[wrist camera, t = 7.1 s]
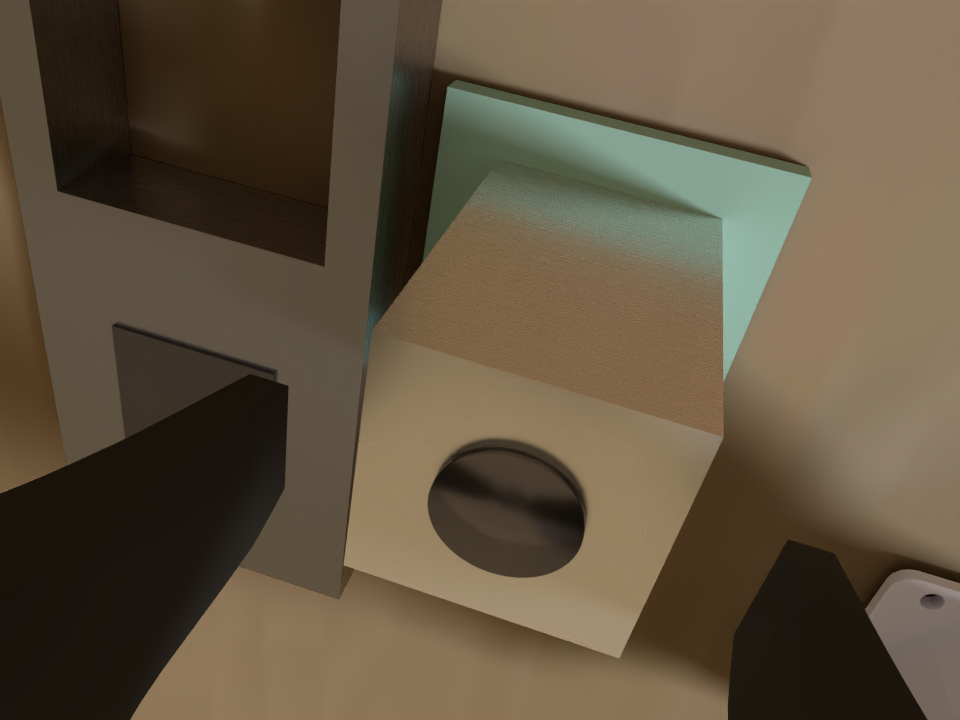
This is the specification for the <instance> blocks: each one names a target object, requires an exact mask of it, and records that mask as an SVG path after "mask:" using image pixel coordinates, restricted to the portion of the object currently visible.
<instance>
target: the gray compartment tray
mask: <svg viewBox="0 0 960 720" xmlns="http://www.w3.org/2000/svg"><path fill="white" fill-rule="evenodd" d="M441 3H442V0H341V10H340V26H339V42H338V58H337V75H336V91H335V107H334V123H333V139H332V155H331V171H330V187H329V203H328V209H327V208H324V207H320V206H317V205H313V204H309V203H306V202H302V201H298V200H295V199H291V198H287V197H284V196H280V195H276V194H273V193H269V192H265V191H262V190H258V189H254V188H251V187H247V186H243V185H240V184H236V183H233V182H229V181H225V180H222V179H218V178H214V177H211V176H207V175H203V174H200V173H196V172H192V171H189V170H185V169H181V168H178V167H174V166H170V165H167V164H163V163H159V162H156V161H152V160H149V159H145V158H141V157H138V156H134V155H131V151H130V140H129V129H128V117H127V106H126V95H125V84H124V73H123V61H122V50H121V39H120V28H119V17H118V6H117V0H0V98H1V103H2V109H3V115H4V120H5V126H6V131H7V137H8V142H9V148H10V154H11V159H12V165H13V170H14V176H15V181H16V187H17V192H18V198H19V204H20V209H21V215H22V220H23V226H24V231H25V237H26V242H27V248H28V254H29V259H30V265H31V270H32V276H33V281H34V287H35V292H36V298H37V304H38V309H39V315H40V320H41V326H42V331H43V337H44V342H45V348H46V354H47V359H48V365H49V370H50V376H51V381H52V387H53V392H54V398H55V404H56V409H57V415H58V420H59V426H60V431H61V437H62V442H63V448H64V454H65V459H66V465H69V464H71V463H74V462H76V461H78V460H80V459H82V458H85V457H87V456H89V455H91V454H93V453H96V452H98V451H100V450H102V449H104V448H106V447H109V446H111V445H113V444H115V443H117V442H119V441H121V440H123V439H125V438H127V437H129V436H131V435H133V434H135V433H137V432H139V431H141V430H143V429H145V428H147V427H149V426H151V425H153V424H155V423H157V422H159V421H161V420H163V419H165V418H167V417H169V416H171V415H172V414H174V413H176V412H178V411H180V410H182V409H184V408H186V407H188V406H190V405H191V404H193V403H195V402H197V401H199V400H201V399H203V398H205V397H207V396H208V395H210V394H212V393H214V392H216V391H218V390H220V389H222V388H223V387H225V386H227V385H229V384H231V383H233V382H235V381H237V380H239V379H241V378H243V377H245V376H247V375H249V374H252V375H255V376H259V377H262V378H265V379H268V380H272V381H275V382H278V383H281V384H285V385H288V386H289V391H288V417H287V443H286V470H285V489H284V491H283V492H282V494H281V496H280V498H279V500H278V502H277V504H276V506H275V507H274V509H273V511H272V513H271V515H270V517H269V519H268V520H267V522H266V524H265V526H264V527H263V529H262V531H261V533H260V534H259V536H258V538H257V540H256V541H255V543H254V545H253V547H252V548H251V549H250V551H249V552H248V554H247V555H246V556H245V558H244V559H243V561H242V562H241V563H240V565H239V566H240V567H243V568H246V569H249V570H252V571H255V572H258V573H261V574H264V575H267V576H270V577H273V578H276V579H279V580H282V581H285V582H288V583H291V584H294V585H297V586H300V587H303V588H306V589H309V590H312V591H315V592H318V593H321V594H324V595H327V596H330V597H333V598H336V599H339V598H340V596H341V594H342V592H343V591H344V589H345V587H346V585H347V583H348V581H349V579H350V577H351V575H352V573H353V571H354V569H353V568H350V567H347V566H344V558H345V550H346V541H347V533H348V525H349V517H350V508H351V500H352V492H353V483H354V475H355V467H356V459H357V450H358V442H359V434H360V426H361V417H362V409H363V401H364V392H365V384H366V376H367V368H368V359H369V351H370V343H371V335H372V330H373V329H374V328H375V326H376V325H377V324H378V322H379V321H380V319H381V318H382V317H383V315H384V314H385V313H386V311H387V310H388V309H389V307H390V306H391V305H392V303H393V302H394V301H395V299H396V298H397V296H398V295H399V294H400V292H401V291H402V290H403V288H404V287H405V280H406V272H407V264H408V257H409V249H410V241H411V234H412V226H413V218H414V210H415V203H416V195H417V187H418V180H419V172H420V164H421V157H422V149H423V141H424V134H425V126H426V118H427V111H428V103H429V95H430V88H431V80H432V72H433V64H434V57H435V49H436V41H437V34H438V26H439V18H440V11H441Z"/></svg>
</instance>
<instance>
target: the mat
mask: <svg viewBox="0 0 960 720" xmlns="http://www.w3.org/2000/svg"><path fill="white" fill-rule="evenodd" d="M499 159H503V160H507V161H510V162H514V163H518V164H521V165H525V166H529V167H533V168H536V169H540V170H544V171H547V172H551V173H555V174H558V175H562V176H566V177H569V178H573V179H577V180H580V181H584V182H588V183H591V184H595V185H599V186H602V187H606V188H610V189H614V190H617V191H621V192H625V193H628V194H632V195H636V196H639V197H643V198H647V199H650V200H654V201H658V202H661V203H665V204H669V205H672V206H676V207H680V208H684V209H687V210H691V211H695V212H698V213H702V214H706V215H709V216H713V217H717V218H720V219H722V228H723V382H724V380H725V378H726V375H727V373H728V371H729V368H730V366H731V364H732V361H733V359H734V357H735V355H736V352H737V350H738V348H739V345H740V343H741V341H742V338H743V336H744V334H745V331H746V329H747V327H748V324H749V322H750V320H751V317H752V315H753V313H754V311H755V308H756V306H757V304H758V301H759V299H760V297H761V294H762V292H763V290H764V287H765V285H766V283H767V280H768V278H769V276H770V274H771V271H772V269H773V267H774V264H775V262H776V260H777V257H778V255H779V253H780V250H781V248H782V246H783V243H784V241H785V239H786V236H787V234H788V232H789V230H790V227H791V225H792V223H793V220H794V218H795V216H796V213H797V211H798V209H799V206H800V204H801V202H802V199H803V197H804V195H805V192H806V190H807V188H808V186H809V183H810V181H811V179H812V177H811V173H810V170H809V167H806V166H802V165H798V164H794V163H790V162H786V161H782V160H778V159H774V158H770V157H766V156H761V155H757V154H753V153H749V152H745V151H741V150H737V149H733V148H729V147H725V146H721V145H717V144H713V143H709V142H705V141H701V140H697V139H693V138H689V137H685V136H681V135H677V134H673V133H669V132H665V131H661V130H657V129H653V128H649V127H645V126H641V125H637V124H633V123H629V122H625V121H621V120H617V119H613V118H609V117H604V116H600V115H596V114H592V113H588V112H584V111H580V110H576V109H572V108H568V107H564V106H560V105H556V104H552V103H548V102H544V101H540V100H536V99H532V98H528V97H524V96H520V95H516V94H512V93H508V92H504V91H500V90H496V89H492V88H488V87H484V86H480V85H476V84H472V83H468V82H464V81H460V80H455V81H454V82H453V83H451V84H450V85H449V86H448V87H447V94H446V101H445V108H444V115H443V122H442V129H441V136H440V143H439V150H438V157H437V164H436V171H435V178H434V185H433V192H432V199H431V206H430V213H429V221H428V228H427V235H426V242H425V249H424V256H423V261H424V260H425V259H426V257H427V256H428V255H429V253H430V252H431V251H432V249H433V248H434V246H435V245H436V244H437V242H438V241H439V240H440V238H441V237H442V236H443V234H444V233H445V232H446V230H447V229H448V228H449V226H450V225H451V223H452V222H453V221H454V219H455V218H456V217H457V215H458V214H459V213H460V211H461V210H462V209H463V207H464V206H465V205H466V203H467V202H468V200H469V199H470V198H471V196H472V195H473V194H474V192H475V191H476V190H477V188H478V187H479V186H480V184H481V183H482V182H483V180H484V179H485V177H486V176H487V175H488V173H489V172H490V171H491V169H492V168H493V167H494V165H495V164H496V163H497V161H498V160H499Z"/></svg>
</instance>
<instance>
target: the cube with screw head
mask: <svg viewBox="0 0 960 720" xmlns="http://www.w3.org/2000/svg"><path fill="white" fill-rule="evenodd" d="M723 438H724V389H723V228H722V219H720V218H717V217H713V216H709V215H706V214H702V213H698V212H695V211H691V210H687V209H684V208H680V207H676V206H672V205H669V204H665V203H661V202H658V201H654V200H650V199H647V198H643V197H639V196H636V195H632V194H628V193H625V192H621V191H617V190H614V189H610V188H606V187H602V186H599V185H595V184H591V183H588V182H584V181H580V180H577V179H573V178H569V177H566V176H562V175H558V174H555V173H551V172H547V171H544V170H540V169H536V168H533V167H529V166H525V165H521V164H518V163H514V162H510V161H507V160H503V159H499V160H498V161H497V163H496V164H495V165H494V167H493V168H492V169H491V171H490V172H489V173H488V175H487V176H486V177H485V179H484V180H483V182H482V183H481V184H480V186H479V187H478V188H477V190H476V191H475V192H474V194H473V195H472V196H471V198H470V199H469V200H468V202H467V203H466V205H465V206H464V207H463V209H462V210H461V211H460V213H459V214H458V215H457V217H456V218H455V219H454V221H453V222H452V223H451V225H450V226H449V228H448V229H447V230H446V232H445V233H444V234H443V236H442V237H441V238H440V240H439V241H438V242H437V244H436V245H435V246H434V248H433V249H432V251H431V252H430V253H429V255H428V256H427V257H426V259H425V260H424V261H423V263H422V264H421V265H420V267H419V268H418V269H417V271H416V272H415V273H414V275H413V276H412V278H411V279H410V280H409V282H408V283H407V284H406V286H405V287H404V288H403V290H402V291H401V292H400V294H399V295H398V296H397V298H396V299H395V301H394V302H393V303H392V305H391V306H390V307H389V309H388V310H387V311H386V313H385V314H384V315H383V317H382V318H381V319H380V321H379V322H378V324H377V325H376V326H375V328H374V329H373V330H372V335H371V343H370V351H369V359H368V368H367V376H366V384H365V392H364V401H363V409H362V417H361V426H360V434H359V442H358V450H357V459H356V467H355V475H354V483H353V492H352V500H351V508H350V517H349V525H348V533H347V541H346V550H345V558H344V566H347V567H350V568H353V569H356V570H359V571H362V572H365V573H368V574H371V575H374V576H377V577H380V578H383V579H386V580H389V581H392V582H395V583H398V584H401V585H403V586H406V587H409V588H412V589H415V590H418V591H421V592H424V593H427V594H430V595H433V596H436V597H439V598H442V599H445V600H448V601H451V602H454V603H457V604H460V605H463V606H466V607H469V608H472V609H474V610H477V611H480V612H483V613H486V614H489V615H492V616H495V617H498V618H501V619H504V620H507V621H510V622H513V623H516V624H519V625H522V626H525V627H528V628H531V629H534V630H537V631H540V632H542V633H545V634H548V635H551V636H554V637H557V638H560V639H563V640H566V641H569V642H572V643H575V644H578V645H581V646H584V647H587V648H590V649H593V650H596V651H599V652H602V653H605V654H608V655H611V656H613V657H616V658H620V656H621V654H622V651H623V649H624V647H625V645H626V643H627V641H628V639H629V637H630V635H631V632H632V630H633V628H634V626H635V624H636V622H637V620H638V618H639V616H640V613H641V611H642V609H643V607H644V605H645V603H646V601H647V599H648V596H649V594H650V592H651V590H652V588H653V586H654V584H655V582H656V580H657V577H658V575H659V573H660V571H661V569H662V567H663V565H664V563H665V561H666V558H667V556H668V554H669V552H670V550H671V548H672V546H673V544H674V542H675V539H676V537H677V535H678V533H679V531H680V529H681V527H682V525H683V523H684V520H685V518H686V516H687V514H688V512H689V510H690V508H691V506H692V504H693V501H694V499H695V497H696V495H697V493H698V491H699V489H700V487H701V484H702V482H703V480H704V478H705V476H706V474H707V472H708V470H709V468H710V465H711V463H712V461H713V459H714V457H715V455H716V453H717V451H718V449H719V446H720V444H721V442H722V440H723Z"/></svg>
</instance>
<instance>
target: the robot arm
mask: <svg viewBox="0 0 960 720" xmlns="http://www.w3.org/2000/svg"><path fill="white" fill-rule="evenodd" d="M288 391H289V386H288V385H285V384H281V383H278V382H275V381H272V380H268V379H265V378H262V377H259V376H255V375H252V374H249V375H247V376H245V377H243V378H241V379H239V380H237V381H235V382H233V383H231V384H229V385H227V386H225V387H223V388H222V389H220V390H218V391H216V392H214V393H212V394H210V395H208V396H207V397H205V398H203V399H201V400H199V401H197V402H195V403H193V404H191V405H190V406H188V407H186V408H184V409H182V410H180V411H178V412H176V413H174V414H172V415H171V416H169V417H167V418H165V419H163V420H161V421H159V422H157V423H155V424H153V425H151V426H149V427H147V428H145V429H143V430H141V431H139V432H137V433H135V434H133V435H131V436H129V437H127V438H125V439H123V440H121V441H119V442H117V443H115V444H113V445H111V446H109V447H106V448H104V449H102V450H100V451H98V452H96V453H93V454H91V455H89V456H87V457H85V458H82V459H80V460H78V461H76V462H74V463H71V464H69V465H67V466H65V467H63V468H61V469H58V470H56V471H54V472H52V473H50V474H47V475H45V476H43V477H40V478H38V479H35V480H33V481H31V482H28V483H26V484H23V485H21V486H18V487H16V488H13V489H11V490H8V491H6V492H3V493H0V720H130V719H131V717H132V716H133V714H134V712H135V711H136V709H137V707H138V706H139V704H140V702H141V701H142V699H143V698H144V696H145V695H146V693H147V692H148V690H149V689H150V687H151V686H152V684H153V683H154V681H155V680H156V679H157V677H158V676H159V674H160V673H161V671H162V670H163V668H164V667H165V666H166V664H167V663H168V662H169V660H170V659H171V658H172V656H173V655H174V654H175V652H176V651H177V649H178V648H179V647H180V645H181V644H182V643H183V641H184V640H185V639H186V637H187V636H188V634H189V633H190V632H191V630H192V629H193V628H194V626H195V625H196V624H197V622H198V621H199V620H200V618H201V617H202V615H203V614H204V613H205V611H206V610H207V609H208V607H209V606H210V605H211V603H212V602H213V601H214V599H215V598H216V596H217V595H218V594H219V592H220V591H221V590H222V588H223V587H224V586H225V584H226V583H227V581H228V580H229V579H230V577H231V576H232V574H233V573H234V572H235V570H236V569H237V568H238V566H239V565H240V563H241V562H242V561H243V559H244V558H245V556H246V555H247V554H248V552H249V551H250V549H251V548H252V547H253V545H254V543H255V541H256V540H257V538H258V536H259V534H260V533H261V531H262V529H263V527H264V526H265V524H266V522H267V520H268V519H269V517H270V515H271V513H272V511H273V509H274V507H275V506H276V504H277V502H278V500H279V498H280V496H281V494H282V492H283V491H284V489H285V470H286V443H287V417H288ZM928 594H937V595H936V596H932V597H926V596H925V595H928ZM728 720H960V583H957V582H954V581H950V580H947V579H944V578H941V577H937V576H934V575H931V574H927V573H924V572H921V571H917V570H911V569H906V570H899V571H897V572H894V573H892V574H891V575H890V576H889V577H888V578H887V579H886V580H885V582H884V583H883V585H882V586H881V587H880V589H879V590H878V592H877V593H876V594H875V596H874V597H873V599H872V600H871V601H870V603H869V604H868V606H867V607H866V609H864V607H863V605H862V603H861V601H860V600H859V598H858V596H857V594H856V592H855V590H854V589H853V587H852V585H851V583H850V581H849V579H848V577H847V576H846V574H845V572H844V570H843V568H842V566H841V565H840V563H839V561H838V559H837V557H836V556H835V554H834V553H830V552H827V551H824V550H821V549H817V548H814V547H811V546H808V545H804V544H801V543H798V542H795V541H791V540H788V541H787V542H786V544H785V546H784V548H783V549H782V551H781V553H780V555H779V556H778V558H777V560H776V562H775V563H774V565H773V567H772V569H771V570H770V572H769V574H768V576H767V578H766V579H765V581H764V583H763V585H762V586H761V588H760V590H759V592H758V593H757V595H756V597H755V599H754V600H753V602H752V604H751V606H750V607H749V609H748V611H747V613H746V614H745V616H744V618H743V620H742V621H741V623H740V625H739V627H738V628H737V630H736V632H735V634H734V641H733V651H732V661H731V671H730V684H729V697H728Z"/></svg>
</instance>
